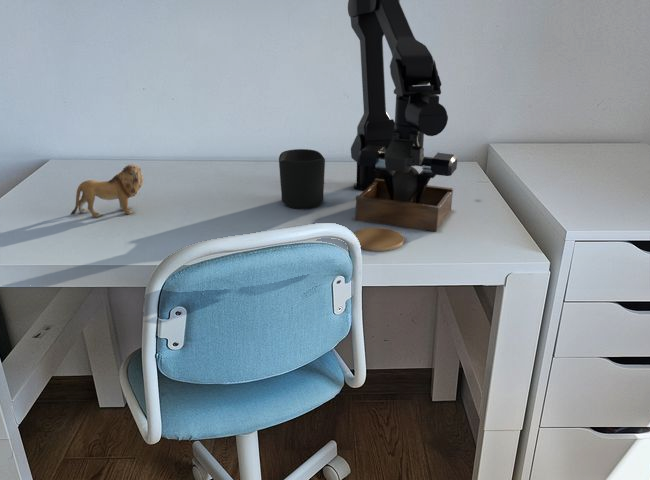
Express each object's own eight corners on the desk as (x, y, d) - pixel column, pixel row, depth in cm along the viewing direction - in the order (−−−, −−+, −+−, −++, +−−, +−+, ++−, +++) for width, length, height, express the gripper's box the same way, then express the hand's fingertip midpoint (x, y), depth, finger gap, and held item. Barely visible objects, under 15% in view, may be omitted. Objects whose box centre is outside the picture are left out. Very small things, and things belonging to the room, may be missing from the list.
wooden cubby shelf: (354, 220, 139) (355, 196, 137) (375, 200, 149) (375, 178, 147) (436, 232, 134) (438, 208, 132) (451, 210, 145) (453, 188, 142)
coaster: (342, 246, 127) (342, 243, 127) (360, 227, 135) (360, 224, 135) (394, 254, 125) (394, 251, 124) (409, 235, 133) (409, 232, 132)
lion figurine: (144, 203, 145) (138, 160, 140) (149, 212, 140) (143, 167, 136) (69, 213, 139) (60, 168, 134) (72, 222, 135) (63, 176, 130)
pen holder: (333, 200, 149) (333, 153, 144) (310, 213, 142) (309, 164, 137) (295, 192, 153) (294, 146, 147) (271, 205, 145) (269, 157, 140)
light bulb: (421, 212, 143) (425, 164, 138) (412, 221, 139) (415, 172, 134) (396, 208, 145) (399, 160, 140) (386, 216, 141) (388, 167, 135)
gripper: (349, 127, 129) (347, 208, 137) (448, 138, 123) (440, 222, 131) (368, 115, 138) (365, 192, 146) (461, 124, 132) (453, 203, 140)
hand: (404, 202), depth 141 cm, fingers closed on light bulb, 5 cm apart
